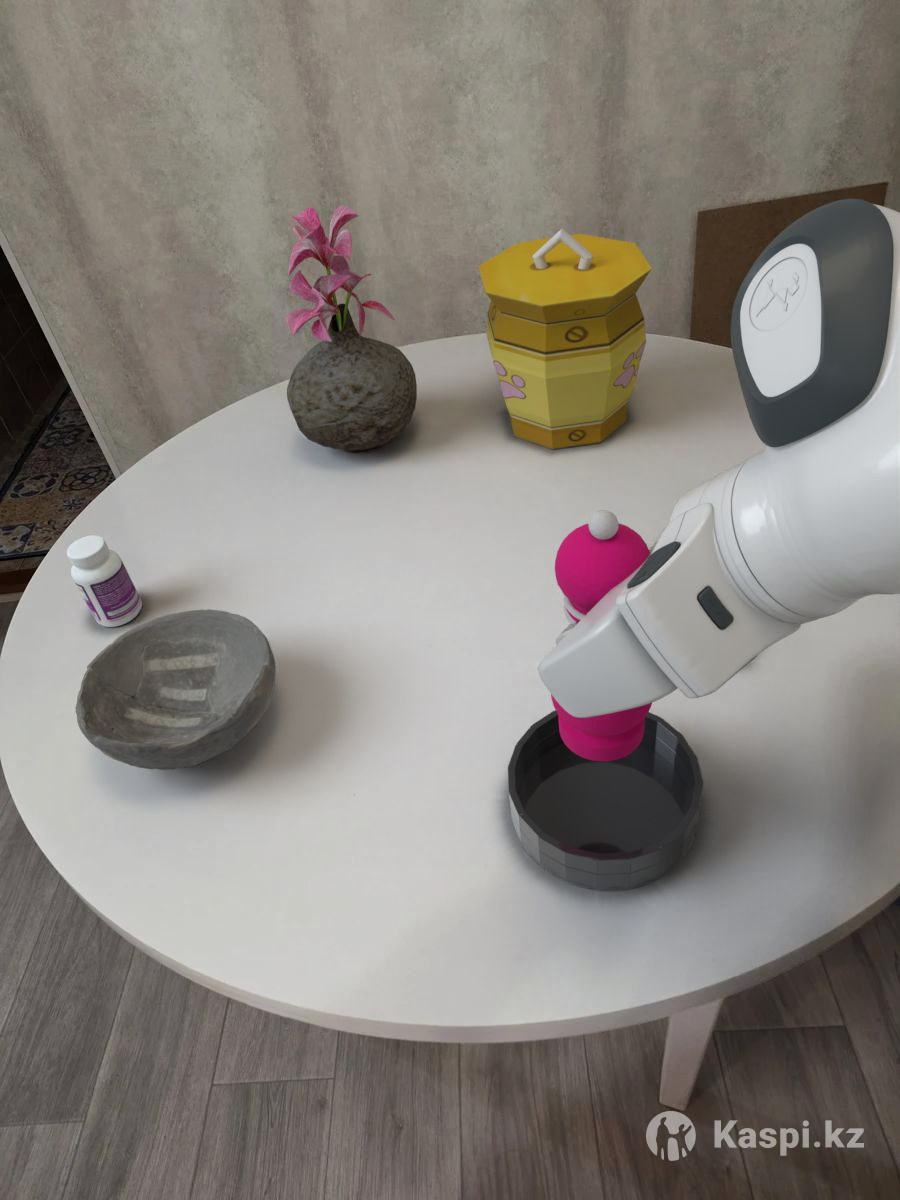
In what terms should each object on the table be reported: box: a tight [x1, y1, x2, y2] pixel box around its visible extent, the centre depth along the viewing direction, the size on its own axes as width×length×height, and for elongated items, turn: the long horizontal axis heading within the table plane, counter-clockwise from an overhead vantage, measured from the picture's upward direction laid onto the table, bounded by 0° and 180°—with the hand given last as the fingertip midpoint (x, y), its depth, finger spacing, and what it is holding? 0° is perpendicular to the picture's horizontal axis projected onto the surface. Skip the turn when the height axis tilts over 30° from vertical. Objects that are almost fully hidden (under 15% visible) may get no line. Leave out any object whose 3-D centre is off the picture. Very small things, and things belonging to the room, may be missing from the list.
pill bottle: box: [66, 534, 143, 628], centre depth 94 cm, size 5×5×10 cm
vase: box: [285, 205, 418, 454], centre depth 109 cm, size 17×17×30 cm
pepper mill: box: [550, 509, 653, 761], centre depth 58 cm, size 7×7×20 cm
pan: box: [507, 709, 704, 891], centre depth 70 cm, size 15×15×4 cm
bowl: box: [74, 608, 276, 771], centre depth 81 cm, size 18×18×8 cm
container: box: [478, 227, 653, 451], centre depth 109 cm, size 21×21×25 cm
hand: (594, 615), depth 57 cm, fingers closed on pepper mill, 5 cm apart
